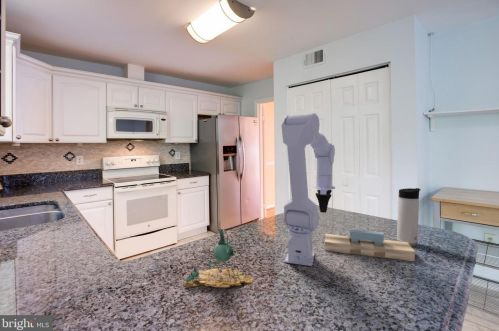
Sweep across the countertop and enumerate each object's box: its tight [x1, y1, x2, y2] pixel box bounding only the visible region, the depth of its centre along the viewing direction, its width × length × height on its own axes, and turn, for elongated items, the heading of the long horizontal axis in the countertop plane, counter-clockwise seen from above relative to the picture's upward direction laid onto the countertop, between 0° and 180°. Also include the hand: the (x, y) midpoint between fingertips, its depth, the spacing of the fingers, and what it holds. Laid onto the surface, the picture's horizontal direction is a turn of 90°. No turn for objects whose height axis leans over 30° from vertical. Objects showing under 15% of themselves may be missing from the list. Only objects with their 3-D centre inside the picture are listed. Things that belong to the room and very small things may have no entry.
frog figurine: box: [182, 227, 254, 288], centre depth 64 cm, size 10×18×15 cm, turn 89°
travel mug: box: [396, 187, 421, 247], centre depth 90 cm, size 6×7×20 cm
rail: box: [324, 233, 416, 262], centre depth 84 cm, size 8×26×3 cm, turn 71°
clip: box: [349, 228, 385, 245], centre depth 83 cm, size 2×10×6 cm, turn 71°
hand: (323, 209), depth 97 cm, fingers open, 7 cm apart
